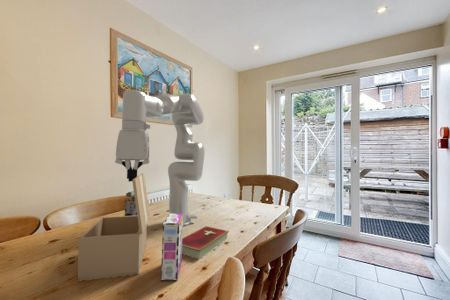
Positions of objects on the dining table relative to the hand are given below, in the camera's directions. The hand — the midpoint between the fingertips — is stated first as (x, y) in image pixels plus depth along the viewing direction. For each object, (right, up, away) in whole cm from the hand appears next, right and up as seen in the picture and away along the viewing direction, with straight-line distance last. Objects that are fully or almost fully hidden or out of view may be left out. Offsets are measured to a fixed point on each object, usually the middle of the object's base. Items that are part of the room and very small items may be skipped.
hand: (131, 181), depth 73 cm
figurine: (-18, -27, +47) cm, 57 cm away
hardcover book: (+23, -28, +12) cm, 38 cm away
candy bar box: (+15, -27, -6) cm, 32 cm away
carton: (-5, -27, -1) cm, 27 cm away
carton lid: (+3, -7, +1) cm, 7 cm away
